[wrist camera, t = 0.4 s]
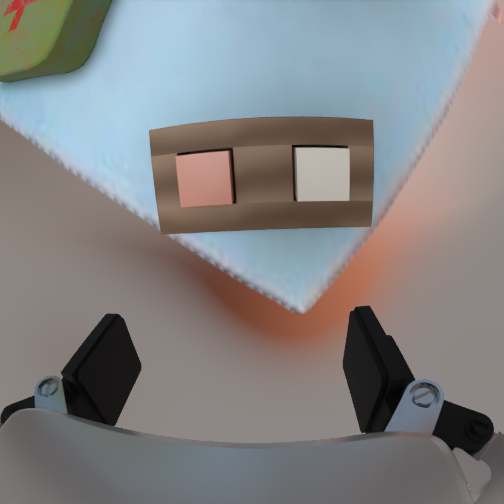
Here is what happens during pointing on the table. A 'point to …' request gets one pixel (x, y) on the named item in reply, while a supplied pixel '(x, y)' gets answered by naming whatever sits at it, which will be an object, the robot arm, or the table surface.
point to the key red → (206, 178)
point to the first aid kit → (47, 36)
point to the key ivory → (321, 173)
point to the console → (263, 173)
